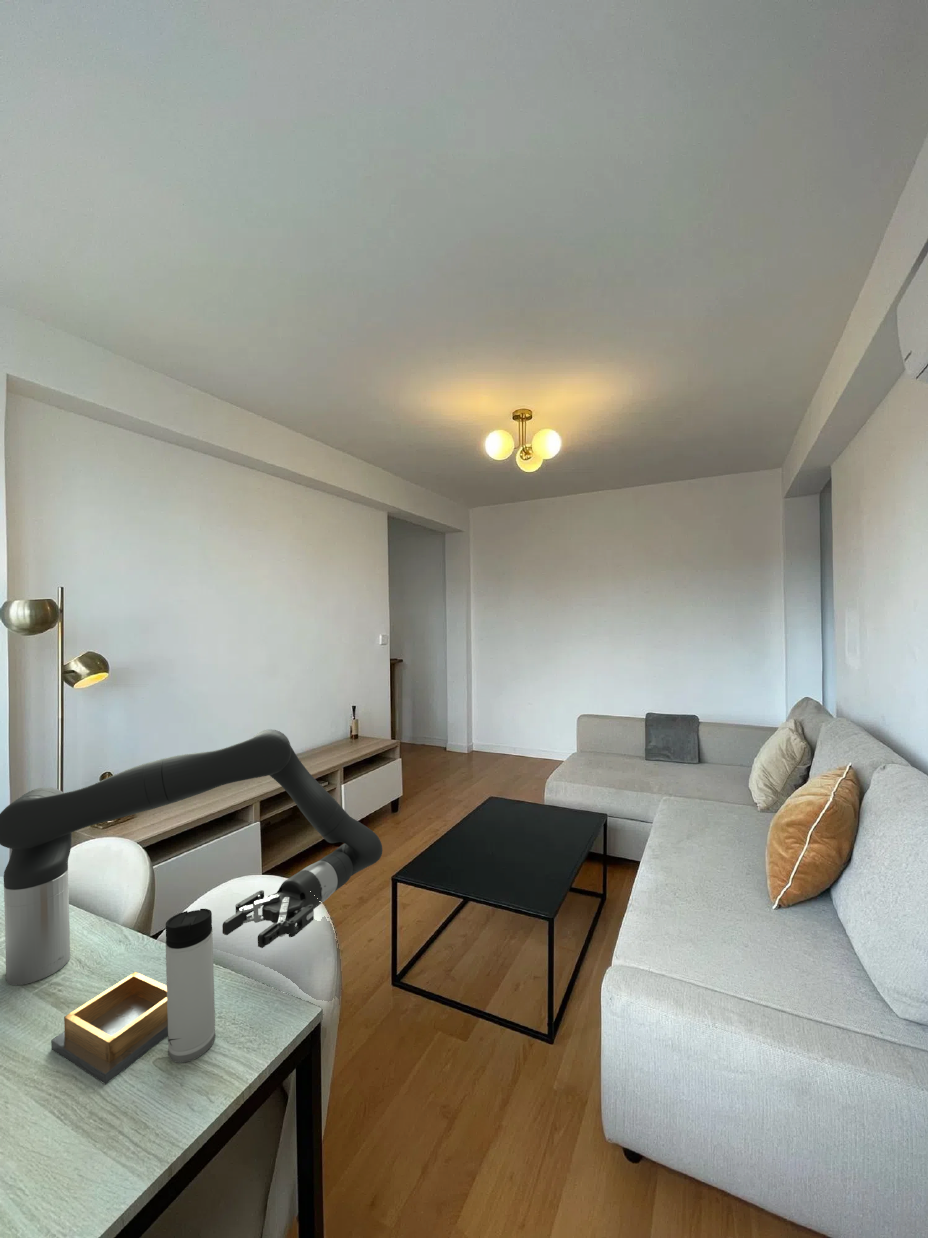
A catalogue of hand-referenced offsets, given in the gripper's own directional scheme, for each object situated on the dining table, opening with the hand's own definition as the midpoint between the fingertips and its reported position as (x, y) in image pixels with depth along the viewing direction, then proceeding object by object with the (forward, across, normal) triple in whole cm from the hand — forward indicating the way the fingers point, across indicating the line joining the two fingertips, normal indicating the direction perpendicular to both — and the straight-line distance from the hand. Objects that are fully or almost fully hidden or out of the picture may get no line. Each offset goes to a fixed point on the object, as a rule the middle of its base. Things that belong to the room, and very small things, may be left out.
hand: (241, 936), depth 84 cm
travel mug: (+10, 0, +11) cm, 15 cm away
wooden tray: (+12, -12, +11) cm, 20 cm away
